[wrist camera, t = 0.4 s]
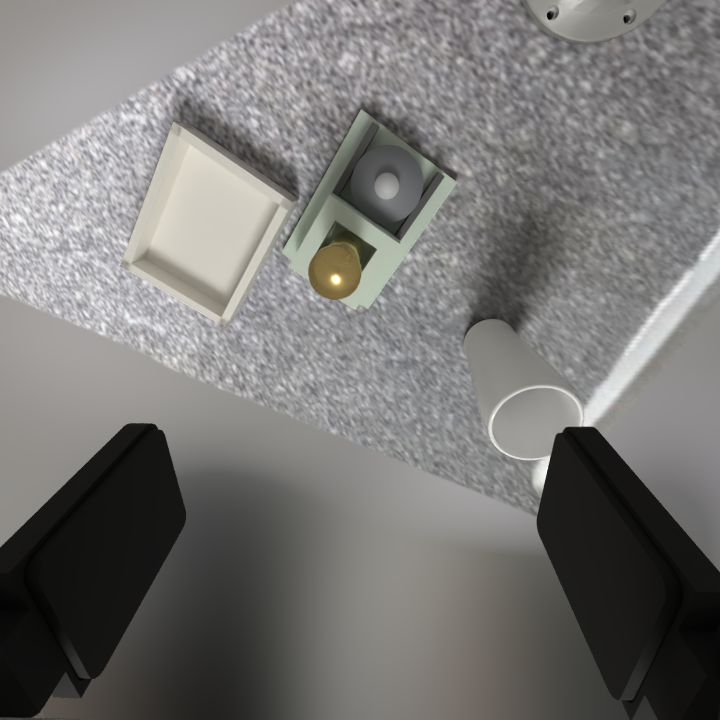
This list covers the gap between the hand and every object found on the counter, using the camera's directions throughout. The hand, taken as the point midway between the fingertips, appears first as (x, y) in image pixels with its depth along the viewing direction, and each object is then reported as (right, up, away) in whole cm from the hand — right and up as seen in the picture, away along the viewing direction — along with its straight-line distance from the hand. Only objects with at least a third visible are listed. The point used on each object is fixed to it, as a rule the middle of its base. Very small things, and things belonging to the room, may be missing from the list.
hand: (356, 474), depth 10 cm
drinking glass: (+14, +5, +32) cm, 35 cm away
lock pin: (-1, +13, +28) cm, 31 cm away
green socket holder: (+1, +16, +27) cm, 32 cm away
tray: (-14, +15, +29) cm, 35 cm away
